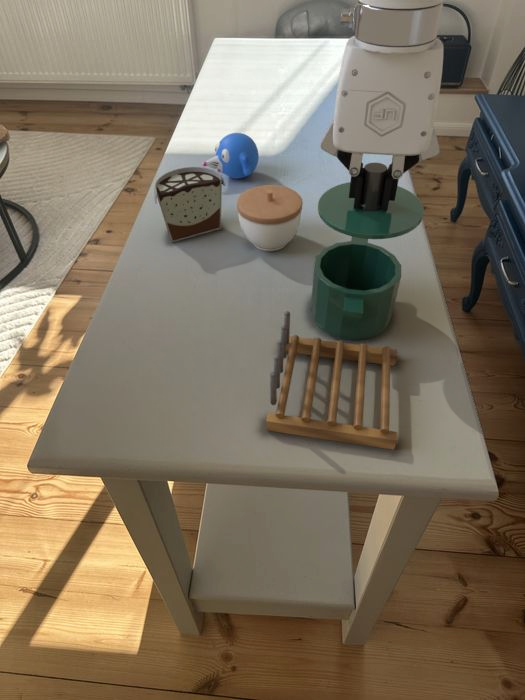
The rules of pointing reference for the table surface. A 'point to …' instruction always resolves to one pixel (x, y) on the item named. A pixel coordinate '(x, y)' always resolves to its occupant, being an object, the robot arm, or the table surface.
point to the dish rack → (331, 428)
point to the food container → (190, 201)
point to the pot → (354, 289)
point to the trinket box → (269, 216)
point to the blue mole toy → (235, 156)
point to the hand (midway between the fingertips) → (370, 202)
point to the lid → (370, 208)
